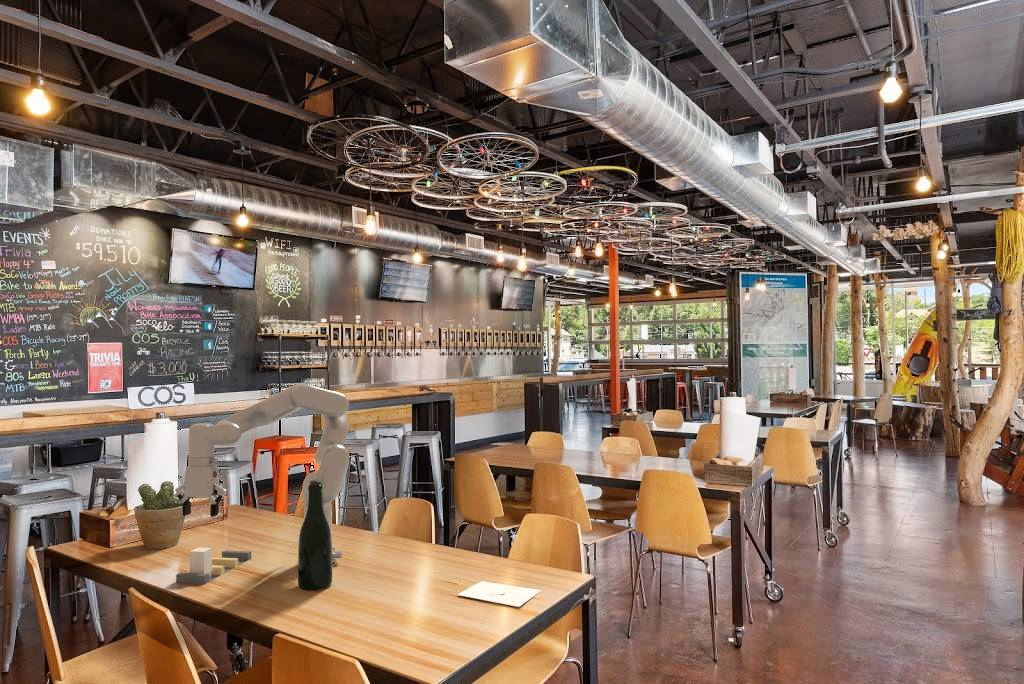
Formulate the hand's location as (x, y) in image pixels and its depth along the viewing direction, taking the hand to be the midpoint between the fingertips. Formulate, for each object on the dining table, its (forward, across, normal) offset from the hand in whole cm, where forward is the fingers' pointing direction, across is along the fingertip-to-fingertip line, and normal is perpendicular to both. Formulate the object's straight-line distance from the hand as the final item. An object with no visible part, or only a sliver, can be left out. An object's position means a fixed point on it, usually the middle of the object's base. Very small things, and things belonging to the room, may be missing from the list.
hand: (200, 515), depth 204 cm
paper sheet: (+21, -99, -8) cm, 102 cm away
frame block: (+20, 0, 0) cm, 20 cm away
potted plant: (+22, +42, -37) cm, 60 cm away
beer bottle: (+21, -38, -2) cm, 44 cm away
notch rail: (+21, 0, -8) cm, 23 cm away
